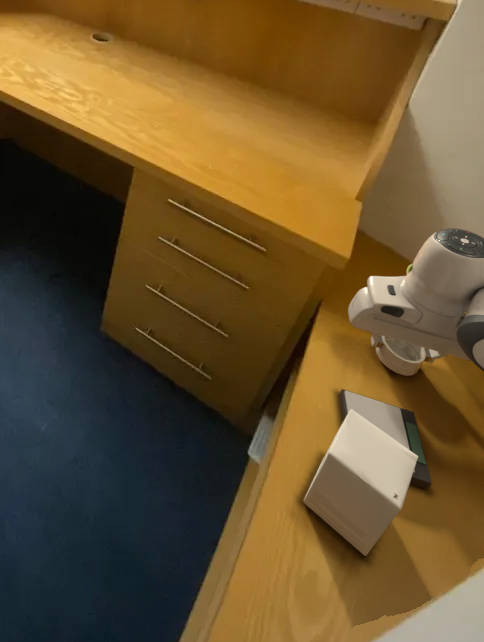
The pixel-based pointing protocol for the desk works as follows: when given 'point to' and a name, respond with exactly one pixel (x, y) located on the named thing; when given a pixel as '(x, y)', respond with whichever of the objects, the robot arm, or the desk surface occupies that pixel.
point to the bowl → (401, 356)
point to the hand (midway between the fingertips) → (400, 351)
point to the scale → (390, 428)
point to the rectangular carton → (361, 482)
